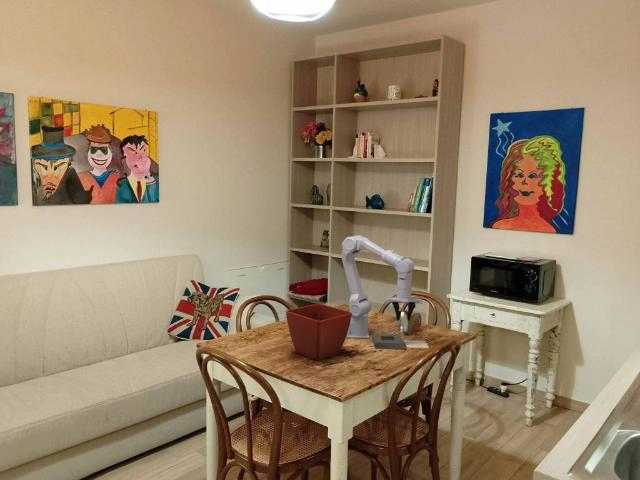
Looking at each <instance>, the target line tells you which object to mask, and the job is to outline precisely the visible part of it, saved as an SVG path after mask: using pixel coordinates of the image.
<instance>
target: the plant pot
mask: <svg viewBox="0 0 640 480" xmlns="http://www.w3.org/2000/svg"><path fill="white" fill-rule="evenodd" d="M285 313H286V314H285V315H286V322H287V327H288V330H289V335H290V338H291V342H292V345H293V348H294V350H295V352H296V353H297V354H300V355H302V356H305V357H308V358H310V359H312V360H316V361H320V360H324V359H327V358H329V357H334V356H336V355H339V354H340V353H341V351H342V349H343V346H344V343H345V341H346V338H347V333H348V329H349V326H350V322H351V317H352V313H351V312H350V311H347V310H344V309H340V308H336V307H333V306H330V305H326V304H322V303H316V304H310V305H306V306H302V307H297V308H292V309H288V310H285Z"/></svg>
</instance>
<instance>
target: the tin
mask: <svg viewBox="0 0 640 480" xmlns="http://www.w3.org/2000/svg"><path fill="white" fill-rule="evenodd" d="M421 326H422V316H421V313H420V312H412V315H411V318H410V321H408V331H406V332H402V333H403V335H409V336H410V335H411V336H412V335H413V334H414V333H417V332H418V331H419V330H420V328H421Z"/></svg>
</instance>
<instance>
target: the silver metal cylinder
mask: <svg viewBox="0 0 640 480" xmlns="http://www.w3.org/2000/svg"><path fill="white" fill-rule="evenodd" d="M397 323H398V324H397V325H398V326H397V332H402V333H403V332H406V331H408V310H405V309H401V310H400V309H399V321H397Z"/></svg>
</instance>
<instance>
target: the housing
mask: <svg viewBox="0 0 640 480" xmlns="http://www.w3.org/2000/svg"><path fill="white" fill-rule="evenodd" d="M371 341H372V344H373V345H372V346H373V347H374V348H373V349H381V350H383V349H384V350H385V349H386V350H388V349H389V350H404V349H405V343H404V339H403V337H402V335H401V334H400V333H398V334H397V333H372V334H371Z"/></svg>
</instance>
